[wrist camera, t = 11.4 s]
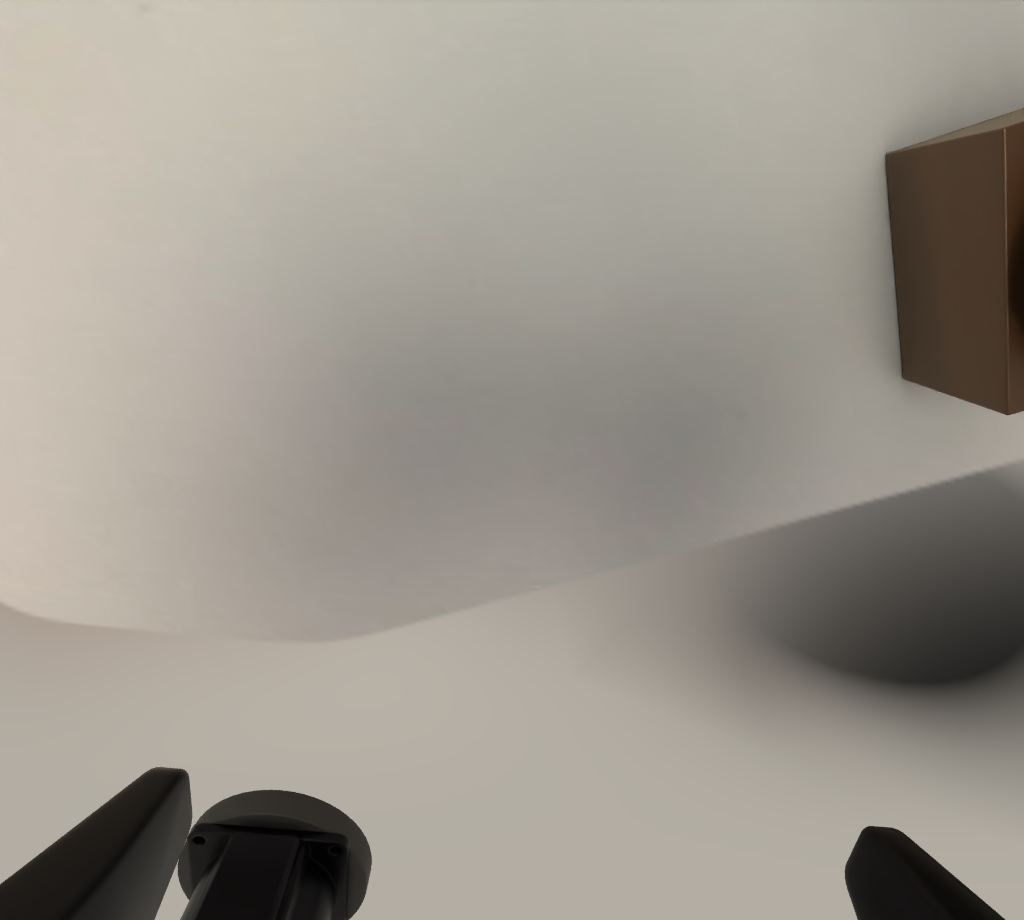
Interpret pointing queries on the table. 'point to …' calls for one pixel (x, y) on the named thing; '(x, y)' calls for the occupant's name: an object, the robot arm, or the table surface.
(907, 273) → the stand
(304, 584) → the table surface
